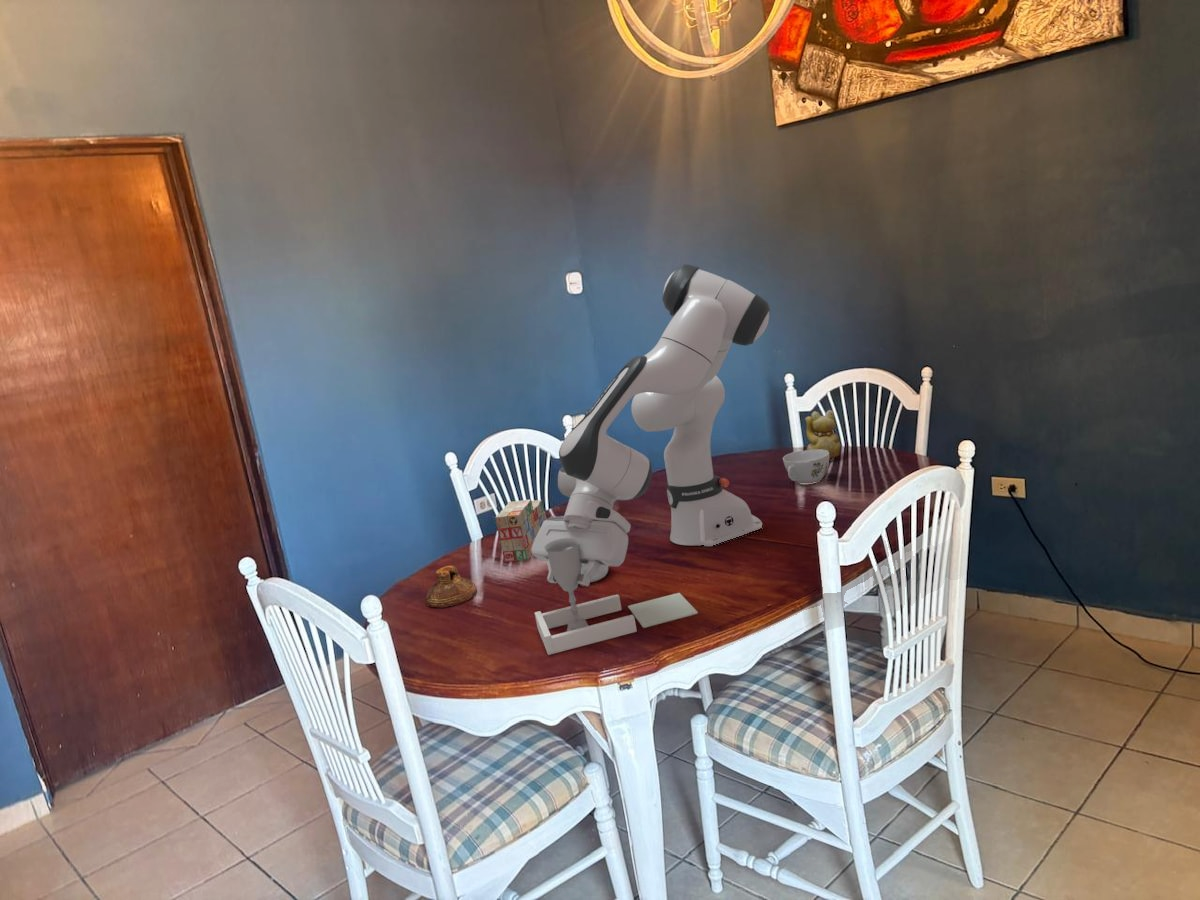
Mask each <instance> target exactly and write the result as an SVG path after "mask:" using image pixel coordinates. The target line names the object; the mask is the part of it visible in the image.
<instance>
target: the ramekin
mask: <svg viewBox="0 0 1200 900" xmlns="http://www.w3.org/2000/svg"><path fill="white" fill-rule="evenodd" d="M581 565H582V567H581V574H584V573H585V572H586V570H587V569H588V568H589V566H588V565H587V564H581ZM608 572H609V566H603V565H600V568H599V571H598V572H597V573H596V574H595V575H594V576H593V577H592V578H591V580H590V583H594V582H597V581H600V580H602V579H603V578H605V577H606V575H608Z"/></svg>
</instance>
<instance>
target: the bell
mask: <svg viewBox="0 0 1200 900" xmlns="http://www.w3.org/2000/svg"><path fill="white" fill-rule="evenodd" d="M435 575H436V583H433V585H431V586H430V587H429V588H428V590H427V593H426V596H425V603H426V605H427V604H428V605H429V606H433V607H444V606H451V607H453V606H452V605H456V604H459V603H462V602H464V603H466V602H468V601H467V600H469V599H470V600H472V599H473V598H474V597H475V596H476V594H477V590H478V588H477V586H476V584H475V583H474V582H473V581H472V580H470V579H468V578H465V577H461V575H460V573H459V569H458V568H457V566H456V565H446V566H443V567H440V568H439V569H437V570H436V571H435ZM473 596H474V597H473ZM470 600H469V601H470ZM465 601H466V602H465ZM462 604H463V603H462ZM428 605H427V606H428ZM459 605H460V604H459ZM429 606H428V607H429ZM456 606H457V605H456Z"/></svg>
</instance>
